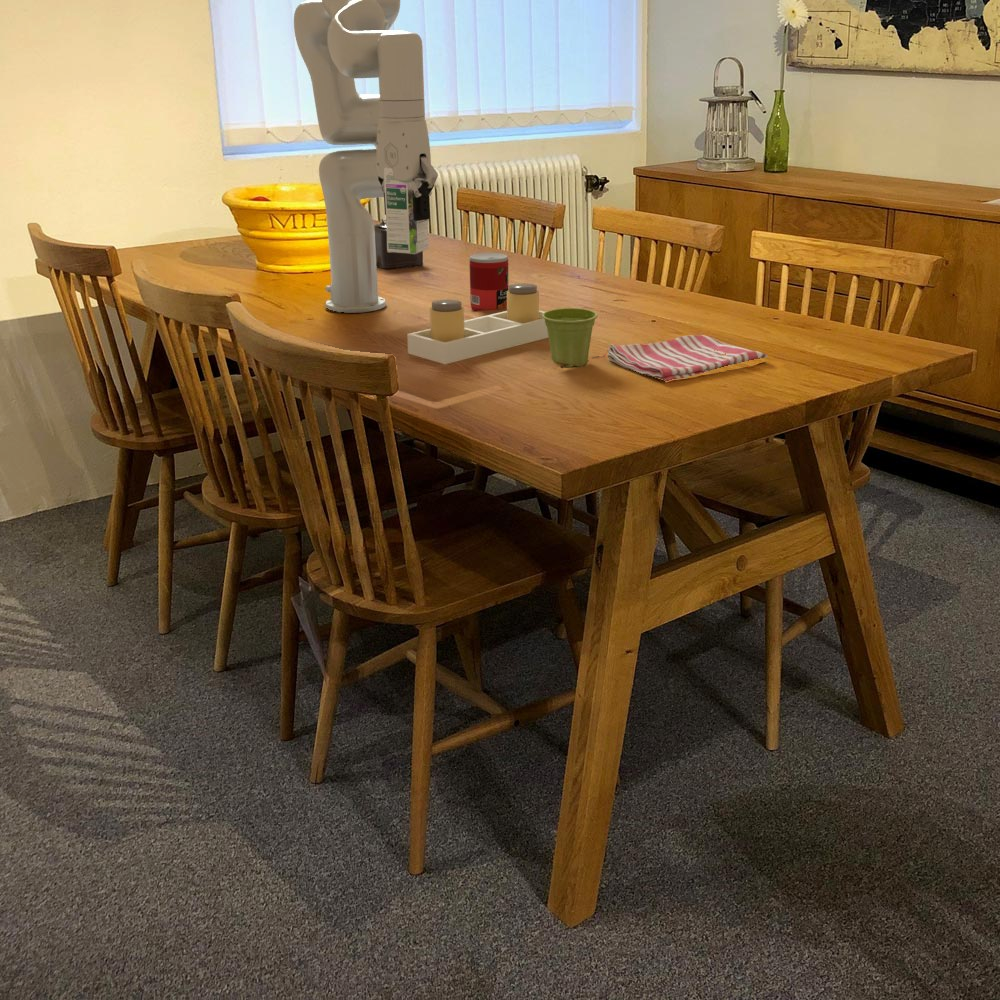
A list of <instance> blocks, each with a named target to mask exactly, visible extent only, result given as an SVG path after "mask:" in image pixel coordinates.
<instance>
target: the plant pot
mask: <svg viewBox="0 0 1000 1000" xmlns="http://www.w3.org/2000/svg"><path fill="white" fill-rule="evenodd" d="M542 317H543V318H544V319H545V324H546V326H547V330H548V336H549V337H548V341H549V349H550V357H551V360H552V361H553V362H555V363H559V364H563V365H560V367H561V368H570V367H572V366H573V367H574V366H576V367H582V366H584V365H586V364H588V359H589V353H590V345H591V339H592V332H593V327H594V326H595V320H596V319H597V318H598V312H597V311H594V310H590V309H587V308H579V307H562V308H554V309H549V310H546V311H544V313H543V314H542Z"/></svg>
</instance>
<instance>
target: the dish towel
mask: <svg viewBox="0 0 1000 1000" xmlns="http://www.w3.org/2000/svg"><path fill="white" fill-rule="evenodd" d="M714 350H715V351H714ZM717 350H718V351H717ZM725 353H726V355H722V354H725ZM767 357H768V355H767V354H766V353H764V352H761V351H757V350H751V349H748V348H745V347H740V346H737V345H732V344H729V343H725V342H721V341H720V340H718V339H716V338H714V337H711V336H707V335H705V334H704V335H703V334H700V335H699V334H698V335H695V334H692V335H691V334H690V335H683V336H678V337H675V338H674V339H670V340H665V341H661V342H652V343H647V344H643V343H642V344H640V343H633V344H626V345H623V344H622V345H620V346H619V345H616V344H610V347H607V358H608V361H610V362H612V363H614V364H617V365H619V366H620V367H623V368H625V369H627V370H629V369H631V370H630V371H632V370H633V371H632V372H635V371H636V373H638V372H639V373H638V374H640V373H641V375H643V374H645V375H644V376H646V375H648V376H647V377H649V376H652V377H651V378H653V377H656V378H660V379H663V380H665V381H669V380H672V379H679V378H685V377H689V376H693V375H696V374H700V373H704V372H708V371H710V370H714V369H717V368H721V367H724V366H728V365H732V364H737V363H741V362H745V361H749V360H754V359H760V358H767ZM768 358H769V357H768ZM656 378H655V379H656Z"/></svg>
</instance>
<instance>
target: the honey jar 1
mask: <svg viewBox="0 0 1000 1000" xmlns="http://www.w3.org/2000/svg"><path fill="white" fill-rule="evenodd" d="M464 321H465V308H464V306H462V301H461V300H457V299H438V300H434V301H432V302H431V307H430V308H429V329H430V332H431V339H434V340H438V341H441V342H449V341H453V340H457V339H461V338H465V331H464Z"/></svg>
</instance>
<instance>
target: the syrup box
mask: <svg viewBox="0 0 1000 1000" xmlns="http://www.w3.org/2000/svg"><path fill="white" fill-rule="evenodd" d="M416 178H419V176H417V177H416ZM418 185H419V188H420V187H421V185H422V184H421V183H418ZM384 186H385V204H386V215H385V220H386V225H387V251H388V252H396V253H408V254H417V253H419V252H422V251H423V252H424V251H426V250H429V248H430V246H429V245H430V243H429V242H430V241H429V219H427V220H420V221H415V220H414V218H413V197H416V196H415V194H414V191H413V186H412V181H410V182H400V181H397V180H395V179H394V176H393V170H392V169H391V168H387V167H386V168H384Z"/></svg>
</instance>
